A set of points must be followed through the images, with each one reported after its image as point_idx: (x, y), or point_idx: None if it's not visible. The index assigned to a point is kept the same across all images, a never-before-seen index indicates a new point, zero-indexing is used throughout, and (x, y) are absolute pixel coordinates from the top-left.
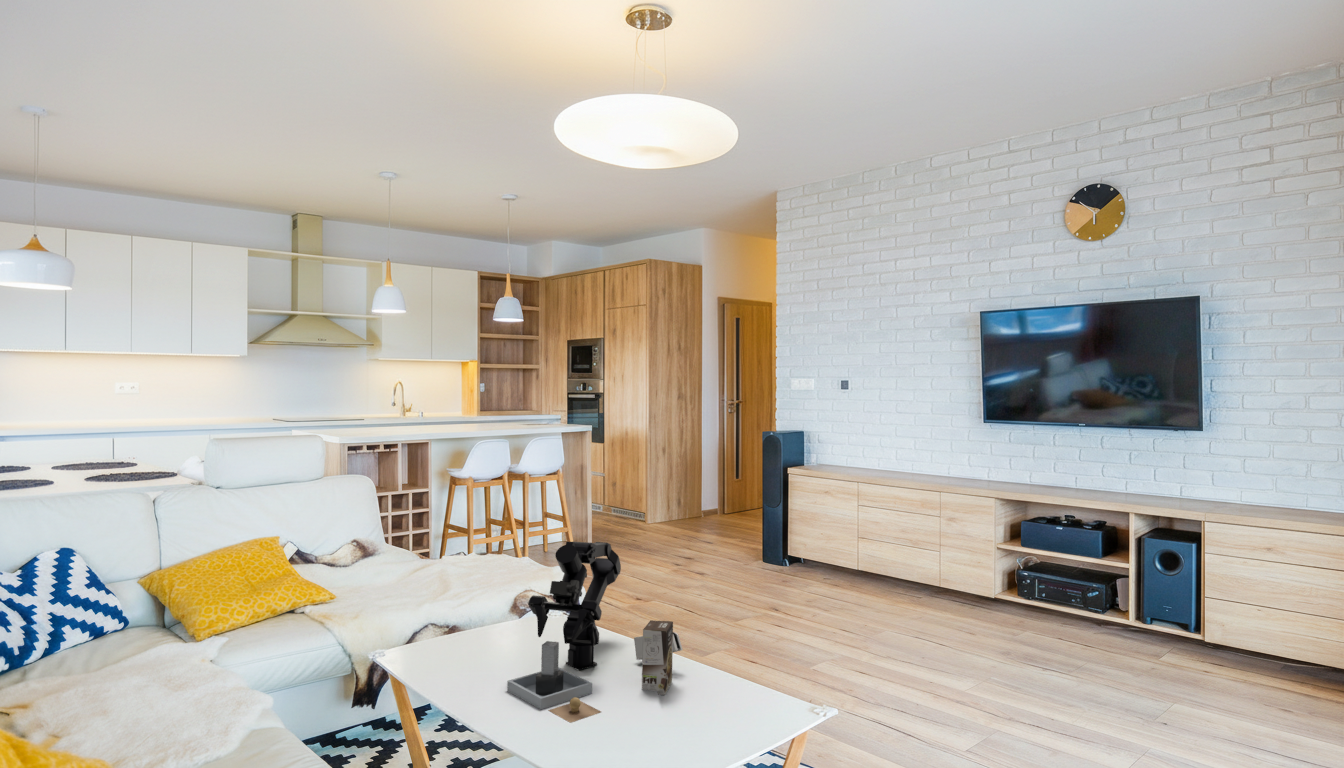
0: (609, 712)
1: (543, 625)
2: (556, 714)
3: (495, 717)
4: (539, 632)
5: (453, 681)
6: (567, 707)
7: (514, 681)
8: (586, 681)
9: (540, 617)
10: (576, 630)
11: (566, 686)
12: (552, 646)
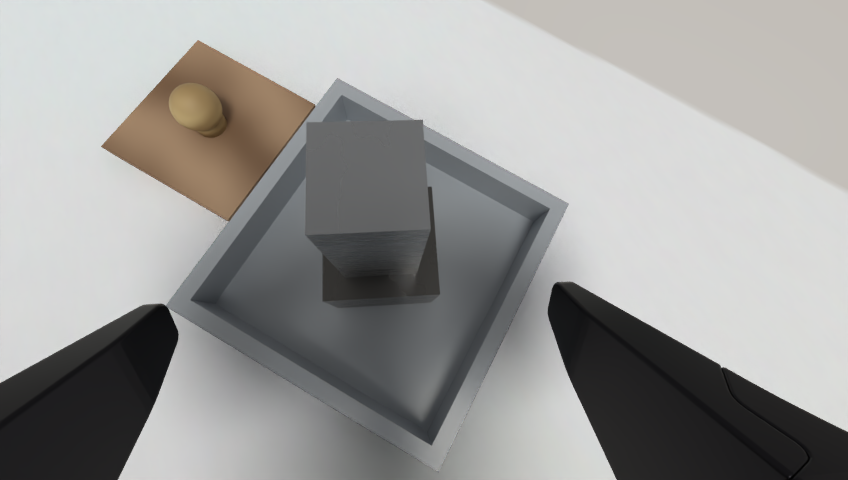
0: (90, 194)
1: (631, 451)
2: (270, 82)
3: (474, 53)
4: (573, 295)
5: (807, 274)
6: (251, 144)
7: (541, 221)
8: (201, 317)
9: (770, 433)
10: (38, 368)
11: (336, 343)
12: (321, 125)
